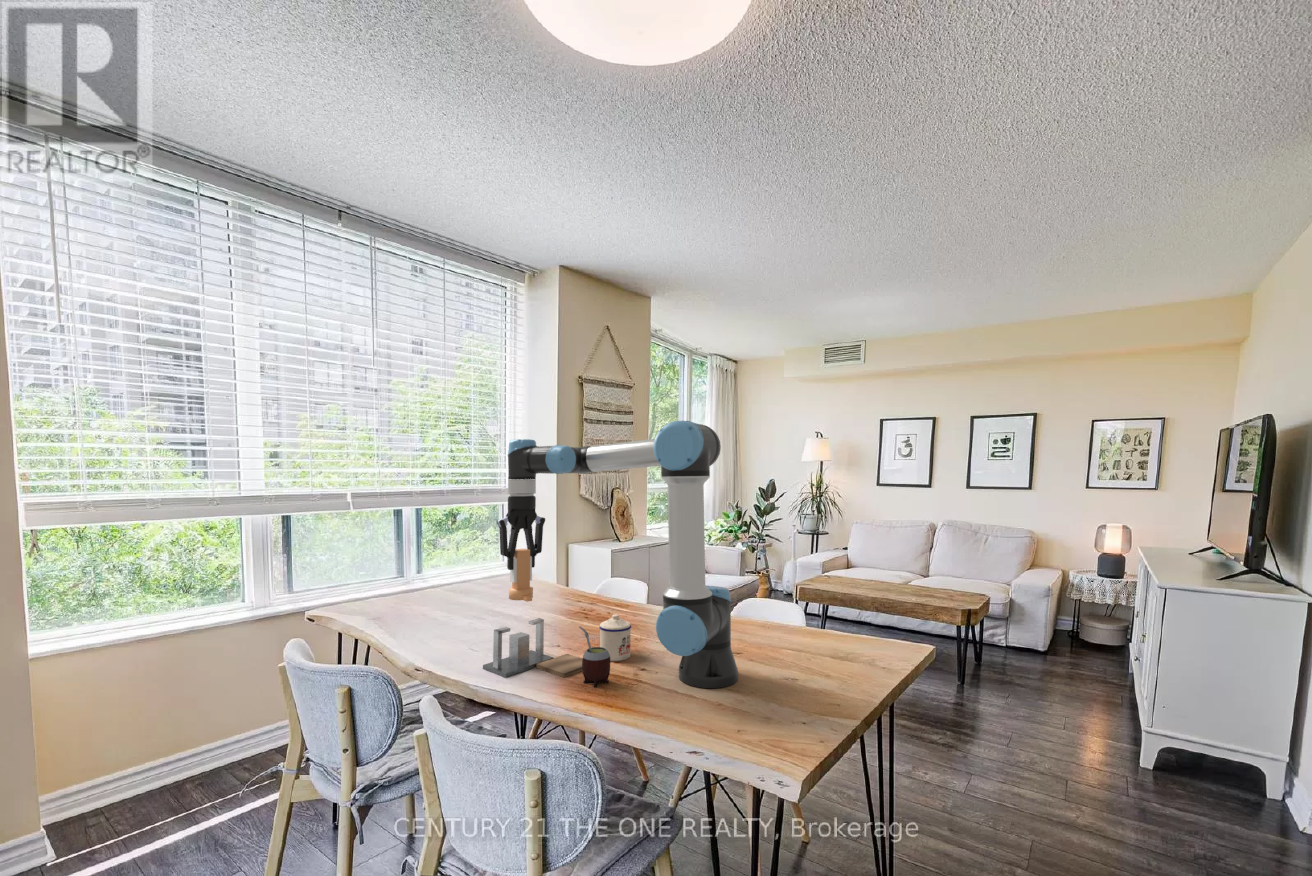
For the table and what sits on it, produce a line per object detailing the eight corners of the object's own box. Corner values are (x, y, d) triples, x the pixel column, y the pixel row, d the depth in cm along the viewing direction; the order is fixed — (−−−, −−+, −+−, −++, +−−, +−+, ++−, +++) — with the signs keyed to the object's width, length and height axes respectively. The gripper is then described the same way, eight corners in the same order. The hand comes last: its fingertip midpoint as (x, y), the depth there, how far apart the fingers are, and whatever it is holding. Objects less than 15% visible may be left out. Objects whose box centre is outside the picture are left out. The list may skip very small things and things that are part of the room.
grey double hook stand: (531, 653, 161) (531, 615, 162) (553, 661, 155) (554, 621, 155) (482, 668, 149) (483, 627, 149) (505, 677, 142) (506, 634, 143)
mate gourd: (611, 677, 143) (611, 618, 143) (609, 689, 135) (609, 626, 136) (581, 677, 142) (582, 618, 143) (578, 689, 134) (578, 626, 135)
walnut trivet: (594, 665, 151) (594, 662, 151) (563, 677, 142) (563, 673, 142) (567, 657, 158) (567, 653, 158) (536, 667, 149) (536, 664, 149)
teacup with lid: (624, 663, 153) (624, 620, 154) (593, 660, 156) (594, 617, 156) (639, 650, 164) (639, 610, 165) (610, 647, 167) (611, 607, 168)
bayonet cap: (501, 595, 155) (502, 548, 156) (523, 592, 159) (524, 546, 160) (517, 603, 146) (518, 553, 147) (540, 599, 150) (540, 551, 151)
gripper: (544, 493, 162) (543, 575, 161) (487, 495, 152) (486, 582, 151) (555, 494, 156) (554, 579, 155) (497, 496, 146) (496, 586, 145)
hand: (521, 580), depth 153 cm, fingers closed on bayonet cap, 4 cm apart
